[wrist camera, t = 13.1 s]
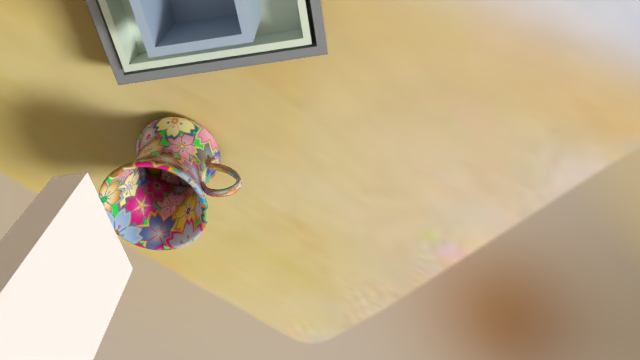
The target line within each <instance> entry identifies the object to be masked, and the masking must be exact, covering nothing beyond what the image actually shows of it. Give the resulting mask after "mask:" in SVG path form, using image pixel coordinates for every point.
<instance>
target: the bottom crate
mask: <svg viewBox="0 0 640 360" xmlns="http://www.w3.org/2000/svg"><path fill="white" fill-rule="evenodd" d="M85 1H86V3H87V6H88V8H89V11H90V14H91V16H92V19H93V21H94V24H95V26H96V29H97V32H98V34H99V37H100V39H101V42H102V45H103V47H104V50H105V52H106V55H107V57H108V60H109V63H110V65H111V68H112V70H113V73H114V76H115V78H116V81H117V83H118V85H123V84H130V83H137V82H143V81H150V80H157V79H164V78H170V77H177V76H184V75H191V74H197V73H204V72H211V71H218V70H224V69H231V68H238V67H244V66H251V65H258V64H265V63H271V62H278V61H285V60H292V59H298V58H305V57H312V56H319V55H325V54H328V52H327V41H326V34H325V27H324V19H323V12H322V5H321V0H307V5H308V12H309V18H310V25H311V31H312V44H310V45H304V46H297V47H290V48H284V49H277V50H270V51H264V52H257V53H250V54H244V55H237V56H230V57H224V58H217V59H210V60H204V61H197V62H190V63H184V64H177V65H170V66H164V67H157V68H150V69H144V70H137V71H130V72H124V69H123V66H122V64H121V61H120V58H119V56H118V53H117V50H116V48H115V45H114V42H113V40H112V37H111V34H110V31H109V29H108V26H107V23H106V21H105V18H104V15H103V13H102V10H101V7H100V5H99V2H98V0H85Z"/></svg>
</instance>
